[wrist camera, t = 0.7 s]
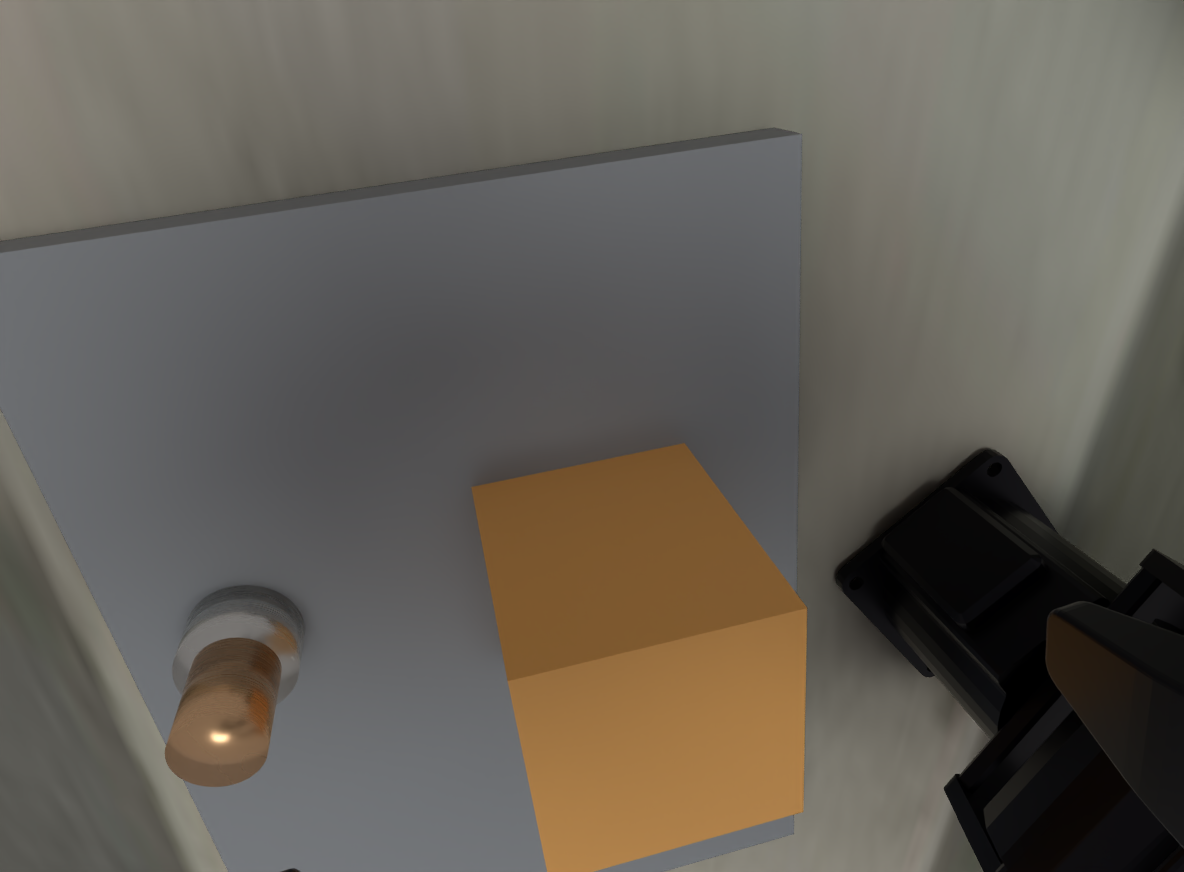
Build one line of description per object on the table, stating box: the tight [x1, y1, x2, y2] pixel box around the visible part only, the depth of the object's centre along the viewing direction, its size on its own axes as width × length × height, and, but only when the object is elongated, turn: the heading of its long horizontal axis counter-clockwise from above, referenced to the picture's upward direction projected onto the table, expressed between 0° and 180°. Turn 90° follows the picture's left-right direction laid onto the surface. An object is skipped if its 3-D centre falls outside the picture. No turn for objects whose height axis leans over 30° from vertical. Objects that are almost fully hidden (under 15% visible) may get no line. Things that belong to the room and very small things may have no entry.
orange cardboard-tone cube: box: [471, 443, 807, 872], centre depth 19 cm, size 6×6×7 cm
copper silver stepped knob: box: [165, 585, 305, 787], centre depth 19 cm, size 3×3×4 cm
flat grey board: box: [0, 128, 802, 872], centre depth 23 cm, size 24×18×2 cm
